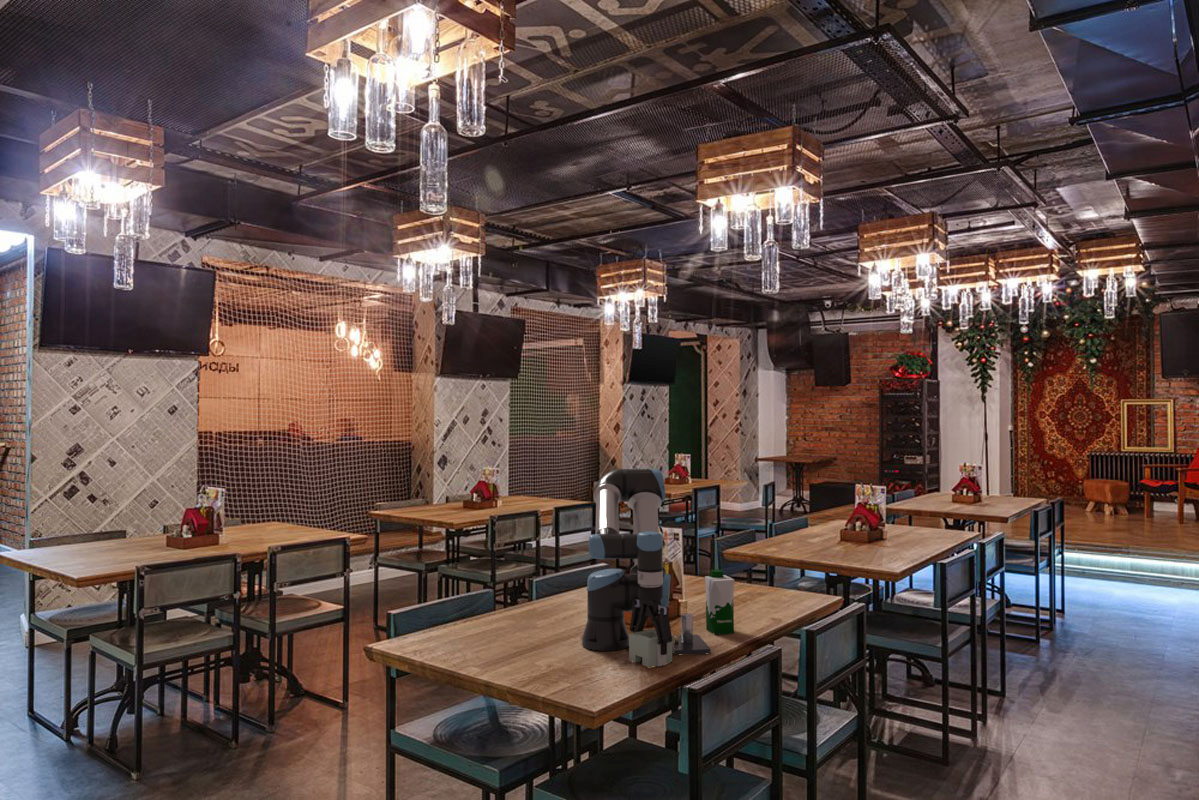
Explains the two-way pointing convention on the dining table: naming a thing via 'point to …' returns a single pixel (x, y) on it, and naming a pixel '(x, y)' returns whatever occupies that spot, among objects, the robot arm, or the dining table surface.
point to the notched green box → (646, 648)
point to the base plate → (690, 647)
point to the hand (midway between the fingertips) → (650, 661)
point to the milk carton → (719, 603)
